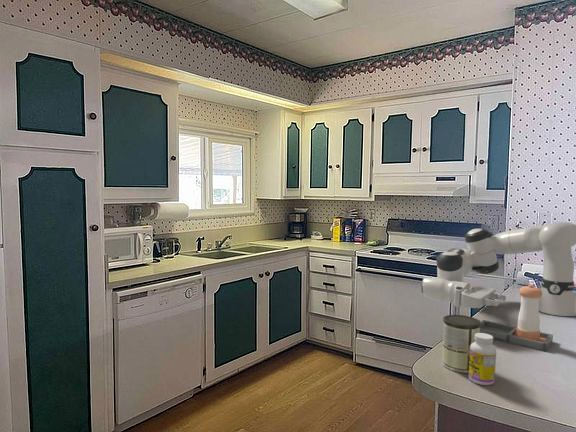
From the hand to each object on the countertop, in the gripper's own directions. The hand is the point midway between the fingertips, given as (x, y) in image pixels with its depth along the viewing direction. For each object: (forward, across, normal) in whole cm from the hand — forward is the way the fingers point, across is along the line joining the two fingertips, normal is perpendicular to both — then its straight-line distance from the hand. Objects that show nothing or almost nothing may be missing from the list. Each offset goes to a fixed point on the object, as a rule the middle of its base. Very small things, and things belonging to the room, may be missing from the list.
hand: (502, 300), depth 154 cm
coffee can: (-2, +37, -13) cm, 39 cm away
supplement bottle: (+6, +43, -13) cm, 45 cm away
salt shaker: (+9, 0, -12) cm, 15 cm away
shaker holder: (+4, 0, -13) cm, 13 cm away
